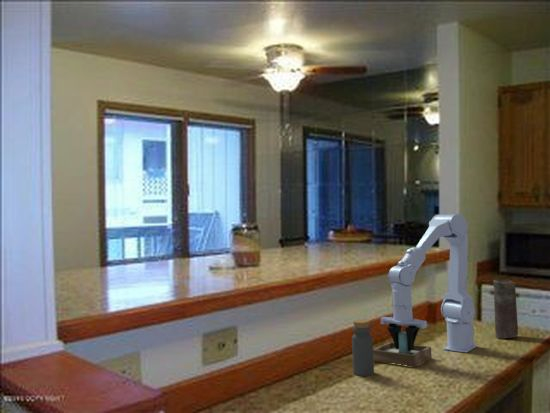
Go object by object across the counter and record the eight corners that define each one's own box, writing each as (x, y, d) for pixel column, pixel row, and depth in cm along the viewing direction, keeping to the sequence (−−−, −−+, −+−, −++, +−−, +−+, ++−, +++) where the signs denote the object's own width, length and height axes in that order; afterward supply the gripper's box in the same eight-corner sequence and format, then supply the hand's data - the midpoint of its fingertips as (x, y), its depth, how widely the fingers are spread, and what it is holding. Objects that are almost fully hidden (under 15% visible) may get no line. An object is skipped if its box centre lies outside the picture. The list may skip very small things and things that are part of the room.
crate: (390, 352, 184) (390, 341, 184) (431, 358, 175) (431, 346, 175) (372, 361, 174) (371, 349, 174) (414, 367, 166) (413, 355, 166)
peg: (396, 356, 174) (395, 333, 174) (403, 354, 177) (402, 331, 177) (406, 358, 172) (405, 335, 172) (413, 355, 174) (412, 333, 174)
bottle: (361, 369, 167) (359, 318, 167) (378, 372, 163) (375, 320, 163) (349, 373, 163) (346, 321, 163) (365, 377, 158) (363, 323, 159)
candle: (498, 334, 203) (496, 278, 203) (520, 336, 198) (518, 278, 198) (493, 338, 196) (490, 280, 197) (515, 340, 192) (512, 281, 192)
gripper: (375, 305, 176) (377, 349, 175) (418, 308, 166) (420, 355, 166) (385, 301, 181) (387, 344, 181) (428, 305, 172) (430, 349, 172)
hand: (404, 349), depth 174 cm, fingers closed on peg, 4 cm apart
